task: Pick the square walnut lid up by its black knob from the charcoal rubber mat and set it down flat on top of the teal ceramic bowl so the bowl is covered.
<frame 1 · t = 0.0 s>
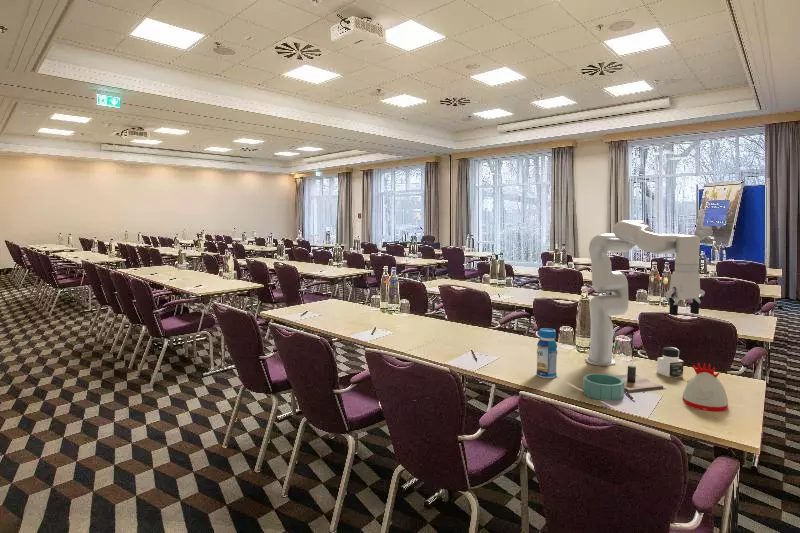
hand: (684, 314, 181), 31 cm above the table, fingers open, 9 cm apart
bowl: (603, 394, 186), on the table
kitchen timer: (704, 404, 176), on the table
medicine bottle: (669, 375, 209), on the table
lid: (631, 383, 196), point 1 cm above the table, touching mat
mat: (631, 385, 196), on the table
beverage bottle: (546, 376, 208), on the table
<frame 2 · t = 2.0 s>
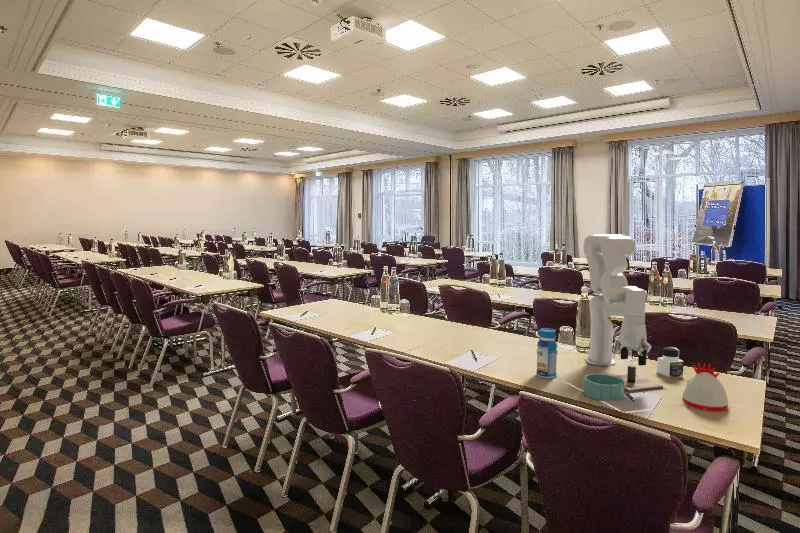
hand: (632, 362, 195), 10 cm above the table, fingers open, 9 cm apart
nothing on the table moved.
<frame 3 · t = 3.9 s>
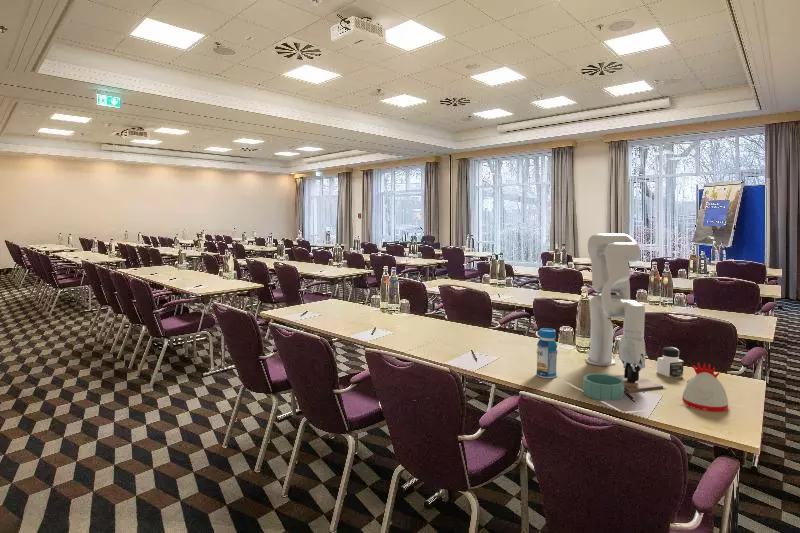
hand: (631, 378, 196), 3 cm above the table, fingers closed on lid, 3 cm apart
lid: (631, 383, 196), point 1 cm above the table, touching gripper, mat
everything else where it was.
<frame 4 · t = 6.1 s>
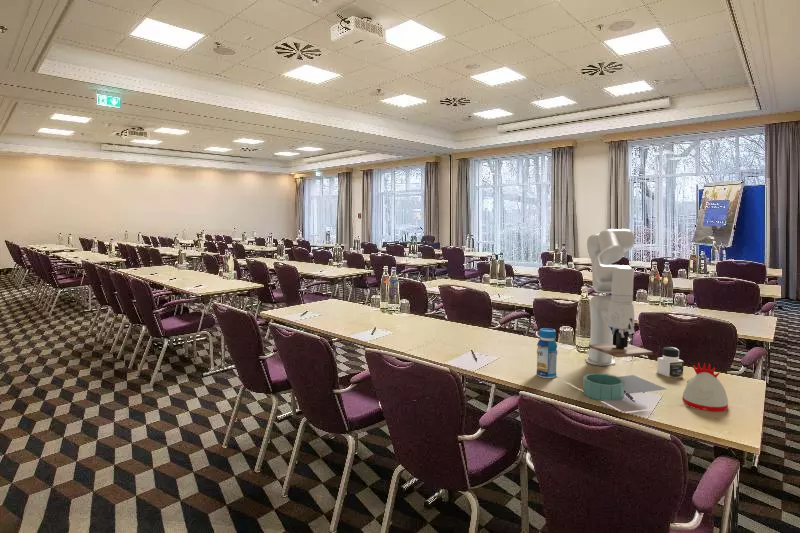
hand: (620, 345, 189), 18 cm above the table, fingers closed on lid, 3 cm apart
lid: (619, 350, 189), point 16 cm above the table, touching gripper
everything else where it was.
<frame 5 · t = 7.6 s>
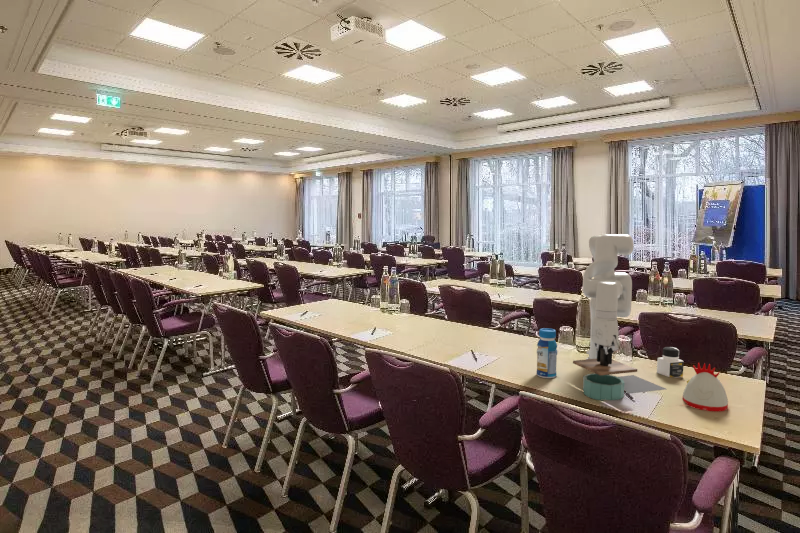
hand: (604, 362, 184), 13 cm above the table, fingers closed on lid, 3 cm apart
lid: (604, 367, 185), point 11 cm above the table, touching gripper
everything else where it was.
when the fingers open (10 cm above the table, at t = 8.7 s): lid drops 2 cm, resting on bowl.
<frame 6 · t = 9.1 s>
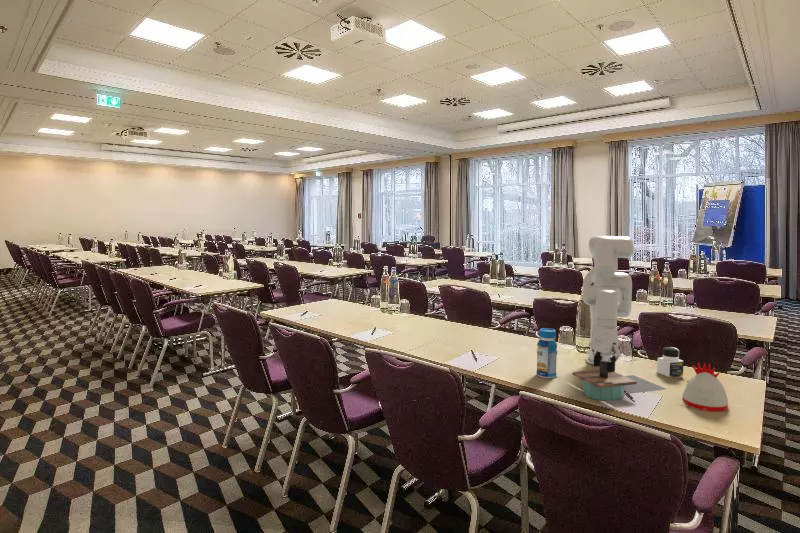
hand: (604, 368, 185), 10 cm above the table, fingers open, 6 cm apart
lid: (603, 379, 185), point 6 cm above the table, touching bowl
everything else where it was.
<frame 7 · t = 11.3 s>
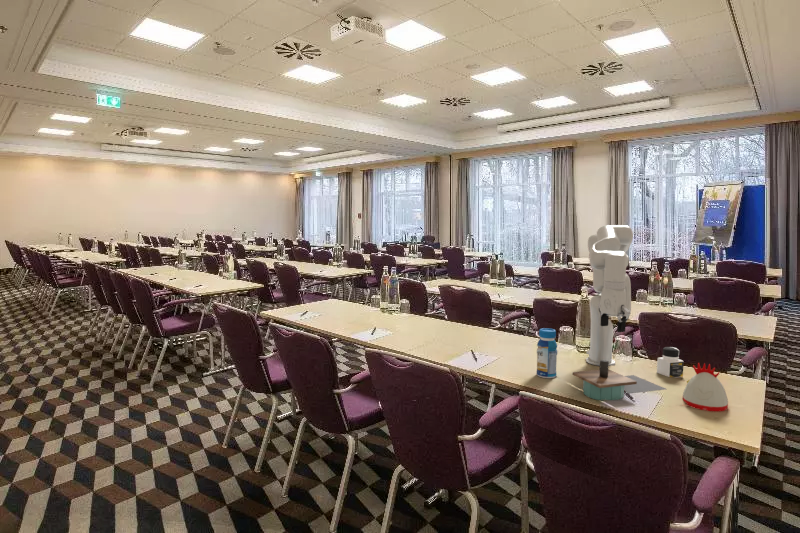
hand: (612, 328, 190), 24 cm above the table, fingers open, 9 cm apart
nothing on the table moved.
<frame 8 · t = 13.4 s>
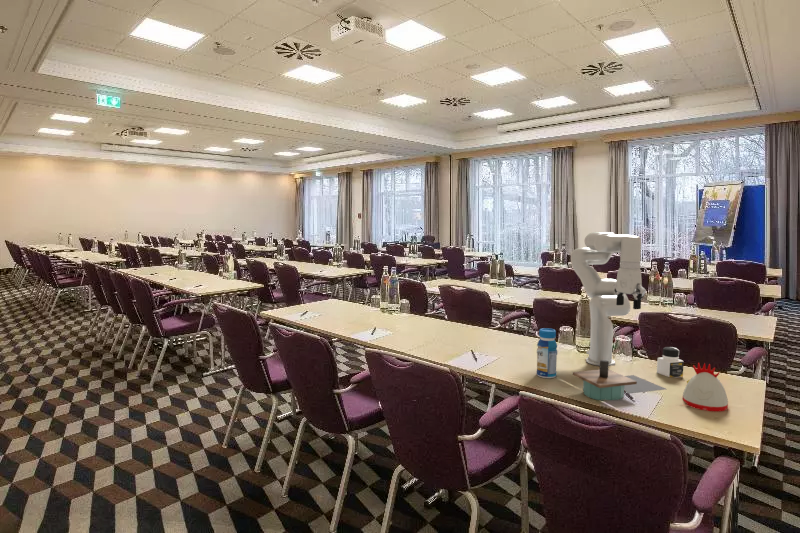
hand: (628, 307, 202), 30 cm above the table, fingers open, 9 cm apart
nothing on the table moved.
at the end: lid 0.1 cm from the bowl (horizontally); lid point 6.0 cm above the table; lid tilted 0° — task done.
